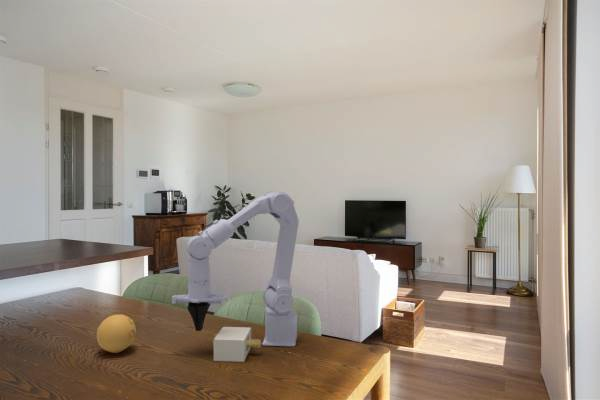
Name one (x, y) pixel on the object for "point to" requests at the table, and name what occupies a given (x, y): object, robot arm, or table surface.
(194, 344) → the table surface
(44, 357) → the table surface
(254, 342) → the pin
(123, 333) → the stress ball
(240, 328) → the block
